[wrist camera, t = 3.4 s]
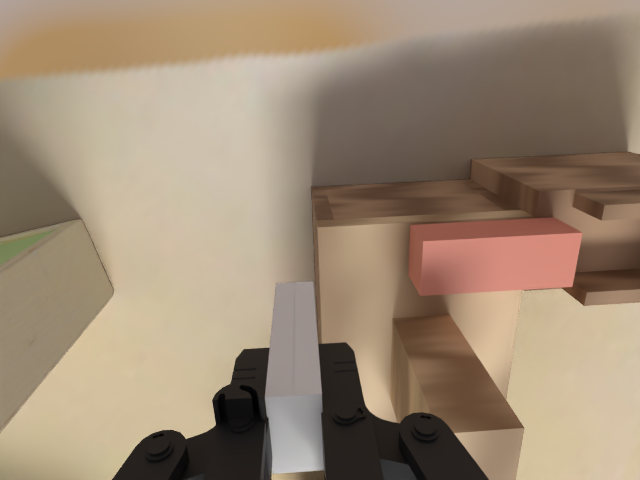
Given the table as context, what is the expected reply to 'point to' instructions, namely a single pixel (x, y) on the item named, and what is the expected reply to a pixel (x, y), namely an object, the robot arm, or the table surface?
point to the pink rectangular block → (492, 256)
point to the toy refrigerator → (44, 304)
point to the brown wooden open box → (530, 196)
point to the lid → (422, 335)
